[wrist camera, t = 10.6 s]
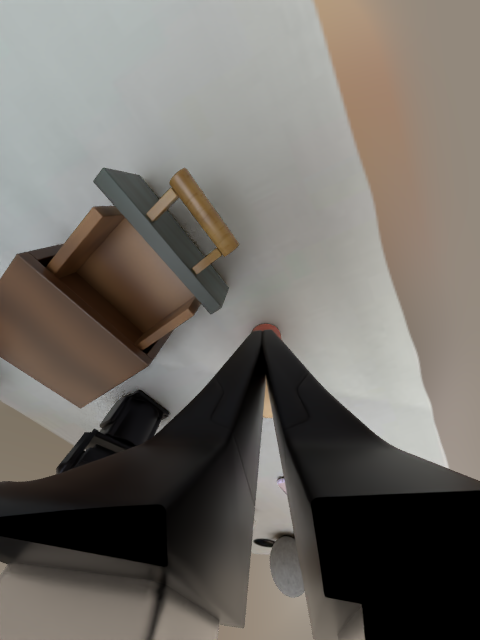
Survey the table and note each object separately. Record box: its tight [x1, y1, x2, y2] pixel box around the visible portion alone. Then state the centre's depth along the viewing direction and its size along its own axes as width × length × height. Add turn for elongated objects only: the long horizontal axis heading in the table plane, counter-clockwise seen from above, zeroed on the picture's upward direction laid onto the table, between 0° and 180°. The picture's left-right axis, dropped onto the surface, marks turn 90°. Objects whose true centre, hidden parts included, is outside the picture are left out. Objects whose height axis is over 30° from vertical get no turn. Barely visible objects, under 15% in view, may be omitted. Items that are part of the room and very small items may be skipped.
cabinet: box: [0, 244, 173, 408], centre depth 22 cm, size 13×13×6 cm
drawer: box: [46, 168, 239, 351], centre depth 17 cm, size 15×11×4 cm
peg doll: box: [253, 324, 281, 418], centre depth 19 cm, size 3×3×10 cm
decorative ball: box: [270, 536, 305, 597], centre depth 52 cm, size 10×10×10 cm
